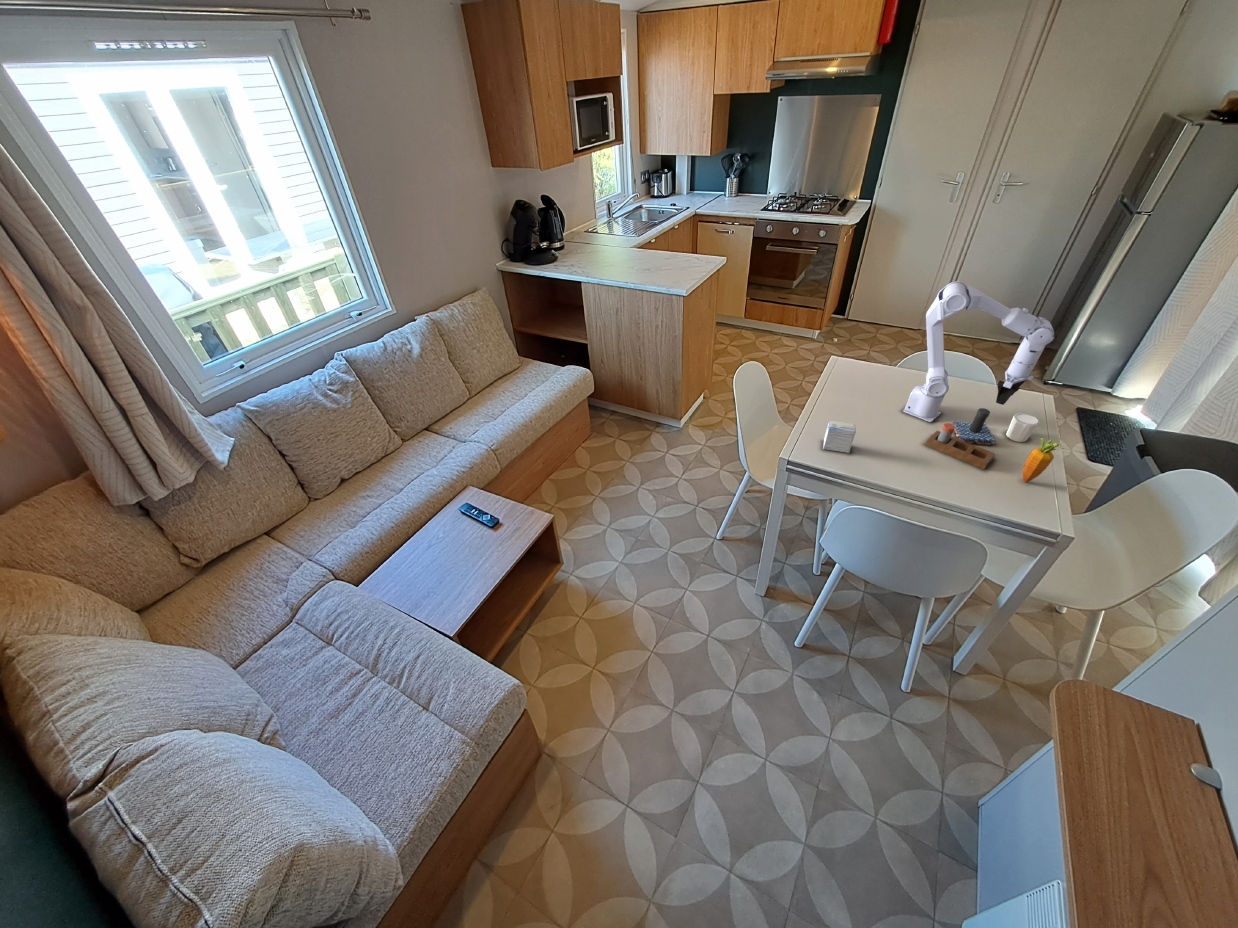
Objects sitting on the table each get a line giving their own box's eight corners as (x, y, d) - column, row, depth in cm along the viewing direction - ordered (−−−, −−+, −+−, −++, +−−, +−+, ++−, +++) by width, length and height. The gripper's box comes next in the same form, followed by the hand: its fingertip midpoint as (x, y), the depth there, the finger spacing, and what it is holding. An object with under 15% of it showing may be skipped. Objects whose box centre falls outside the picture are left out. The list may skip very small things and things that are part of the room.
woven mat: (984, 427, 162) (986, 422, 161) (995, 446, 155) (998, 441, 153) (949, 424, 165) (951, 419, 163) (958, 443, 157) (960, 438, 155)
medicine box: (848, 445, 159) (855, 423, 153) (849, 453, 156) (856, 431, 150) (823, 441, 161) (829, 419, 156) (822, 449, 158) (828, 427, 152)
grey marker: (933, 445, 157) (941, 426, 152) (937, 440, 158) (946, 421, 154) (943, 449, 155) (952, 430, 150) (947, 445, 156) (957, 426, 152)
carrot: (1010, 477, 144) (1035, 436, 134) (1027, 475, 144) (1053, 434, 134) (1022, 488, 140) (1049, 447, 130) (1039, 486, 140) (1067, 445, 131)
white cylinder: (1033, 443, 155) (1044, 425, 150) (1008, 442, 156) (1019, 424, 152) (1024, 431, 160) (1034, 413, 155) (1000, 429, 161) (1010, 411, 157)
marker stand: (925, 445, 157) (927, 439, 155) (934, 436, 160) (937, 430, 159) (983, 469, 147) (987, 463, 145) (992, 459, 150) (995, 453, 148)
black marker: (967, 430, 158) (976, 411, 154) (971, 426, 160) (980, 407, 155) (977, 434, 157) (988, 415, 152) (981, 430, 158) (991, 410, 153)
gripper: (1031, 373, 142) (1010, 412, 151) (1048, 356, 149) (1026, 394, 158) (1004, 365, 146) (984, 403, 155) (1021, 349, 153) (1002, 386, 162)
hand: (1004, 398), depth 157 cm, fingers open, 7 cm apart
